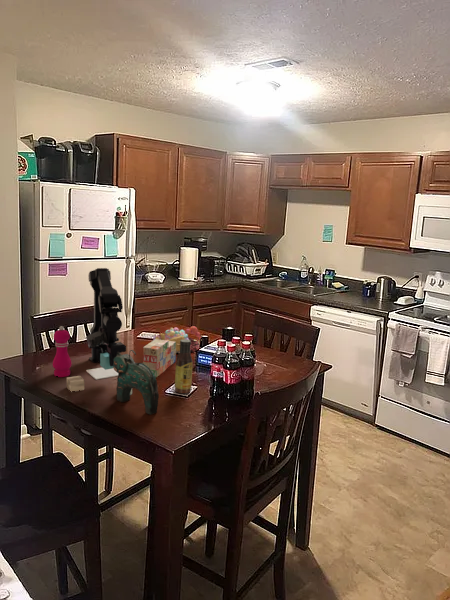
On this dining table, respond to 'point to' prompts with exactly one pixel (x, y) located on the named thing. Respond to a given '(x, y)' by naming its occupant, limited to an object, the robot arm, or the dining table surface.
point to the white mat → (102, 373)
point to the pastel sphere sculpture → (180, 337)
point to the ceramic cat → (136, 381)
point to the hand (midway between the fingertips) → (109, 363)
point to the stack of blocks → (159, 355)
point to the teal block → (105, 361)
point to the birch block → (75, 383)
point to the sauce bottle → (183, 368)
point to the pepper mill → (61, 353)
